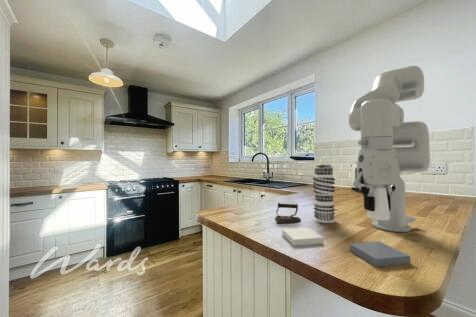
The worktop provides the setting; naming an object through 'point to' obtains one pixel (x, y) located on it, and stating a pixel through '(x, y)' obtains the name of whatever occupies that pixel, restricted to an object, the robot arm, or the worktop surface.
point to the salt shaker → (380, 204)
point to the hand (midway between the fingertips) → (377, 209)
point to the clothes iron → (287, 218)
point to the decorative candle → (324, 193)
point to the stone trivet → (302, 236)
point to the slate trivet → (379, 254)
